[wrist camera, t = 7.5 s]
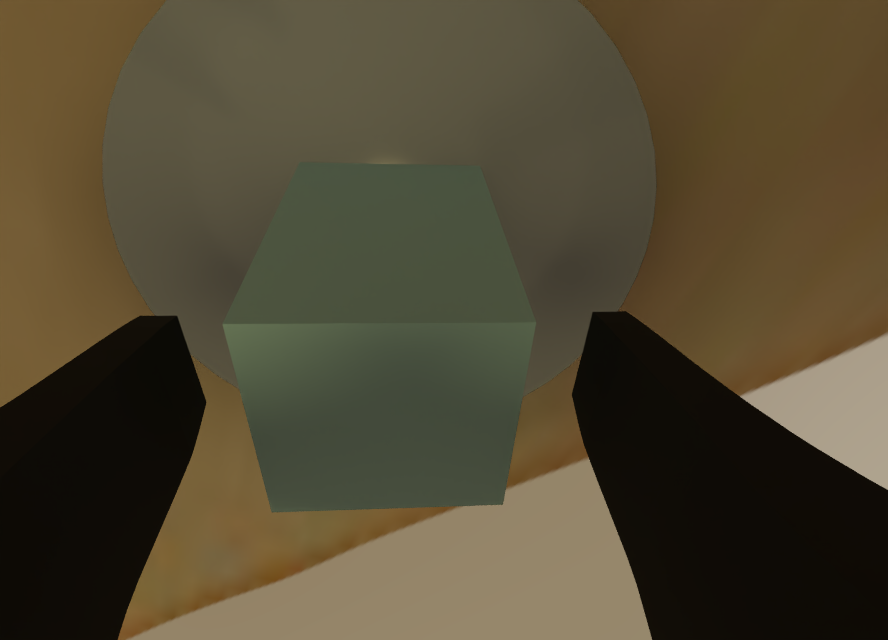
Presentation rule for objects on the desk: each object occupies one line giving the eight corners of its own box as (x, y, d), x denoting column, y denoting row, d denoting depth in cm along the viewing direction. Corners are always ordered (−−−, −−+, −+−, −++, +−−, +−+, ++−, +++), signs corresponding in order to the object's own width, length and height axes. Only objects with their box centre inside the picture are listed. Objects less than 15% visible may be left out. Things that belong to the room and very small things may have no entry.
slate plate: (702, -67, 11) (741, -69, 9) (581, 392, 18) (594, 423, 17) (36, -97, 10) (-17, -103, 8) (204, 400, 17) (189, 435, 16)
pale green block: (480, 165, 12) (536, 322, 7) (467, 310, 14) (502, 504, 9) (299, 162, 11) (221, 323, 6) (318, 310, 14) (271, 512, 9)
